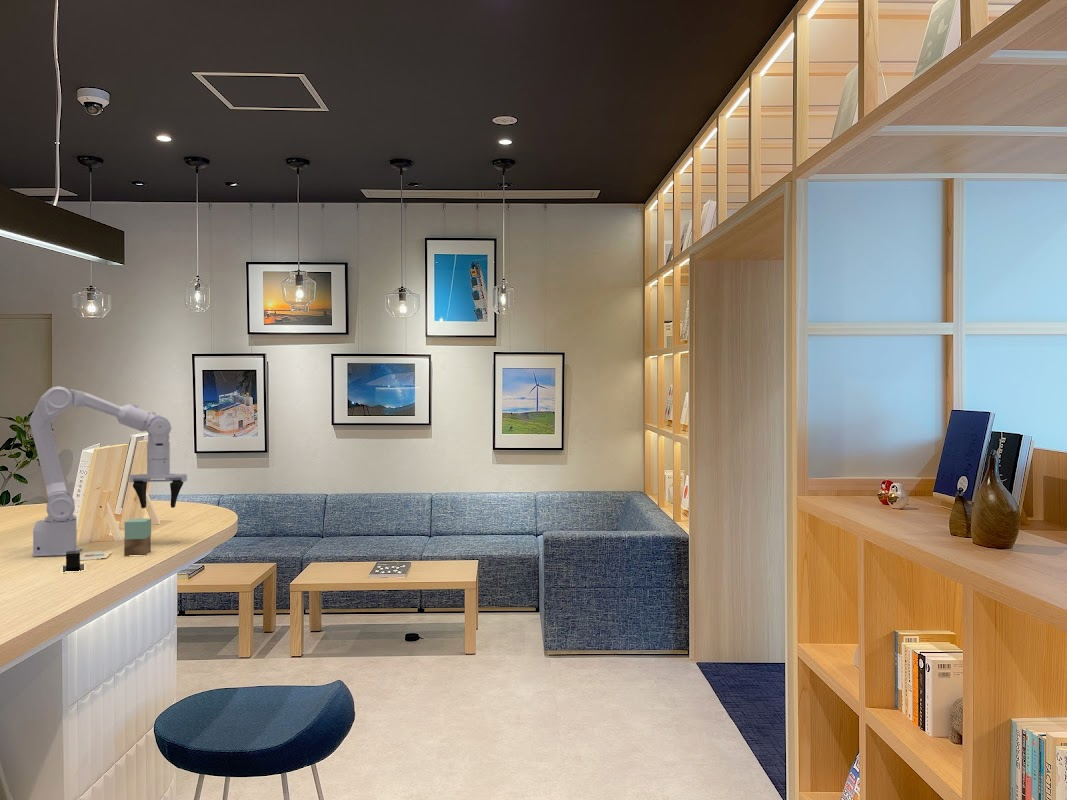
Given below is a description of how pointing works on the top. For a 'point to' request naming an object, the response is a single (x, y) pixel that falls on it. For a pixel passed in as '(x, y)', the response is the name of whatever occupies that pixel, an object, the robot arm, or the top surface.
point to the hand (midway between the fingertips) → (158, 507)
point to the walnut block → (137, 546)
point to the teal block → (137, 528)
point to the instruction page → (92, 555)
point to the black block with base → (73, 561)
